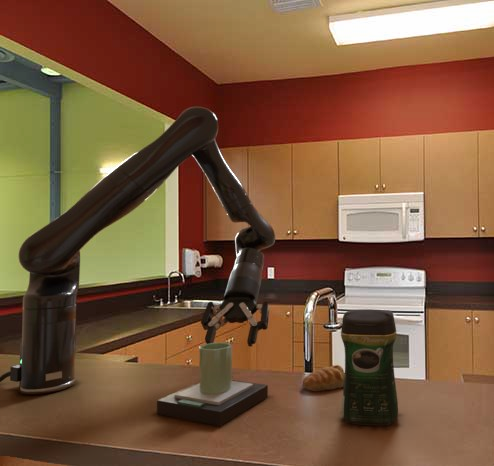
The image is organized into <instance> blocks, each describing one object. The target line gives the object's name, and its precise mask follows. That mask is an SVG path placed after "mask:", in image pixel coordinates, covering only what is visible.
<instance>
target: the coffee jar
mask: <svg viewBox="0 0 494 466" xmlns="http://www.w3.org/2000/svg"><path fill="white" fill-rule="evenodd" d="M341 320H342V321H341V329H340V338H341V340H342V343H343V347H344V348H343V349H344V373H345V375H344V386H343V387H342V388H343V389H342V401H341V402H342V404H341V415H342V418H343V420H344V421H346V422H347V423H348V424H352V425H362V426H389V425H391V424H393V423H395V422H396V421H397V418H398V415H399V401H398V393H397V385H396V377H395V368H394V344H395V342H396V338H397V326H396V321H395V316H394V312H393V311H392V310H389V309H388V310H386V309H372V308H371V309H369V308H366V309H365V308H364V309H361V308H360V309H349V310H346V312H345V313H344V314H343V316H342V319H341Z"/></svg>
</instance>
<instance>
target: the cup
mask: <svg viewBox="0 0 494 466" xmlns="http://www.w3.org/2000/svg"><path fill="white" fill-rule="evenodd" d="M198 349H199V350H198V353H199V354H198V355H199V356H198V383H199V392H200V393H203V394H219V393H223V392H226V391H228V390H230V389H231V388H232V380H233V344H232V343H230V342H224V341H223V342H222V341H221V342H214V343H209V344H207V343H205V344H202V345H200V346H198Z"/></svg>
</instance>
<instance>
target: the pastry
mask: <svg viewBox="0 0 494 466" xmlns="http://www.w3.org/2000/svg"><path fill="white" fill-rule="evenodd" d="M344 375H345V369H344V368H343V367H342V365H339V364H334V365H333V364H332V365H331V366H323V367H319V368H318V369H316V370H315V371H314V372H311V373H309V374H308V375H307V376H305V377H303V379H302V382H301V387H302V388H304V389H306V390H310V391H312V392H320V391H327V390H328V391H329V390H334V389H337V388H338V389H339V388H344Z"/></svg>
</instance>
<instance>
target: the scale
mask: <svg viewBox="0 0 494 466" xmlns="http://www.w3.org/2000/svg"><path fill="white" fill-rule="evenodd" d="M268 388H269V386H268V384H263V383H257V382H256V383H255V382H248V381H242V380H235V379H232V388H231V389H230V390H228V391H226V392H223V393H219V394H203V393H200V392H199V382H197V383H195V384H192V385H190V386H187V387H185V388H183V389H180V390H178V391H176V392H174V393H171V394H169V395H167V396H164V397H161V398H160V399H158V400H156V414H157V415H159V416H160V415H161V416H166V417H172V418H176V419H181V420H186V421H191V422H197V423H201V424H207V425H212V426H217V427H221V426H223V425H224V424H226V423H228V422H230V421H231V420H233V419H234V418H237V417H238V416H240V415H241V414H242V413H244V412H246V411H248V410H250V408H253V407H254V406H255V405H257V404H259V403H260V402H262V401H264V400H266V399H267V398H268V395H269V393H268V390H269V389H268Z"/></svg>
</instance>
